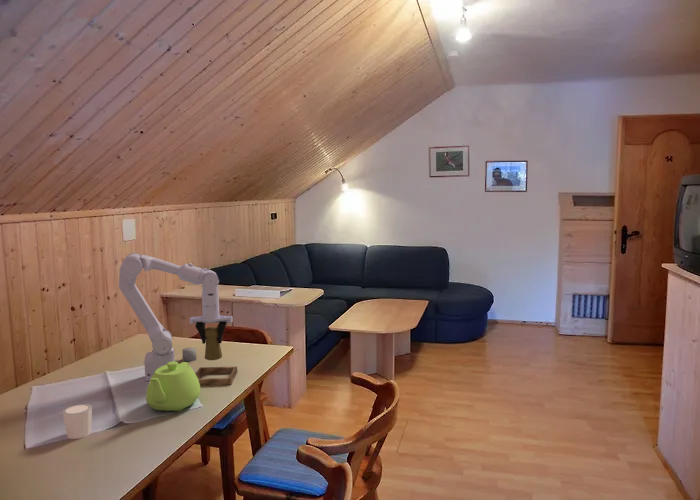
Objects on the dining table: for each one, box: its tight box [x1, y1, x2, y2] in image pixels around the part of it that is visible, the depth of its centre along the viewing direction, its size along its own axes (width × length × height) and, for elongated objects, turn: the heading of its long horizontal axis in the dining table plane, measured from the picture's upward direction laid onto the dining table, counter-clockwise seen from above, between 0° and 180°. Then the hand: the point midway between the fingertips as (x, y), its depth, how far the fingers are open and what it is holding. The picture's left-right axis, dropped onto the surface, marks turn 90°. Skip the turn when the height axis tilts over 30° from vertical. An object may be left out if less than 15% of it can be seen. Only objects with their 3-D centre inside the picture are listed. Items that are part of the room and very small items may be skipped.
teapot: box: [145, 360, 201, 412], centre depth 154 cm, size 22×15×13 cm
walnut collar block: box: [195, 366, 238, 387], centre depth 177 cm, size 13×12×2 cm
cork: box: [204, 326, 223, 361], centre depth 184 cm, size 6×6×11 cm
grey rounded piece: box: [181, 347, 198, 363], centre depth 197 cm, size 5×5×4 cm
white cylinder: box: [62, 403, 93, 440], centre depth 137 cm, size 7×7×7 cm
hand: (212, 342), depth 183 cm, fingers closed on cork, 5 cm apart
